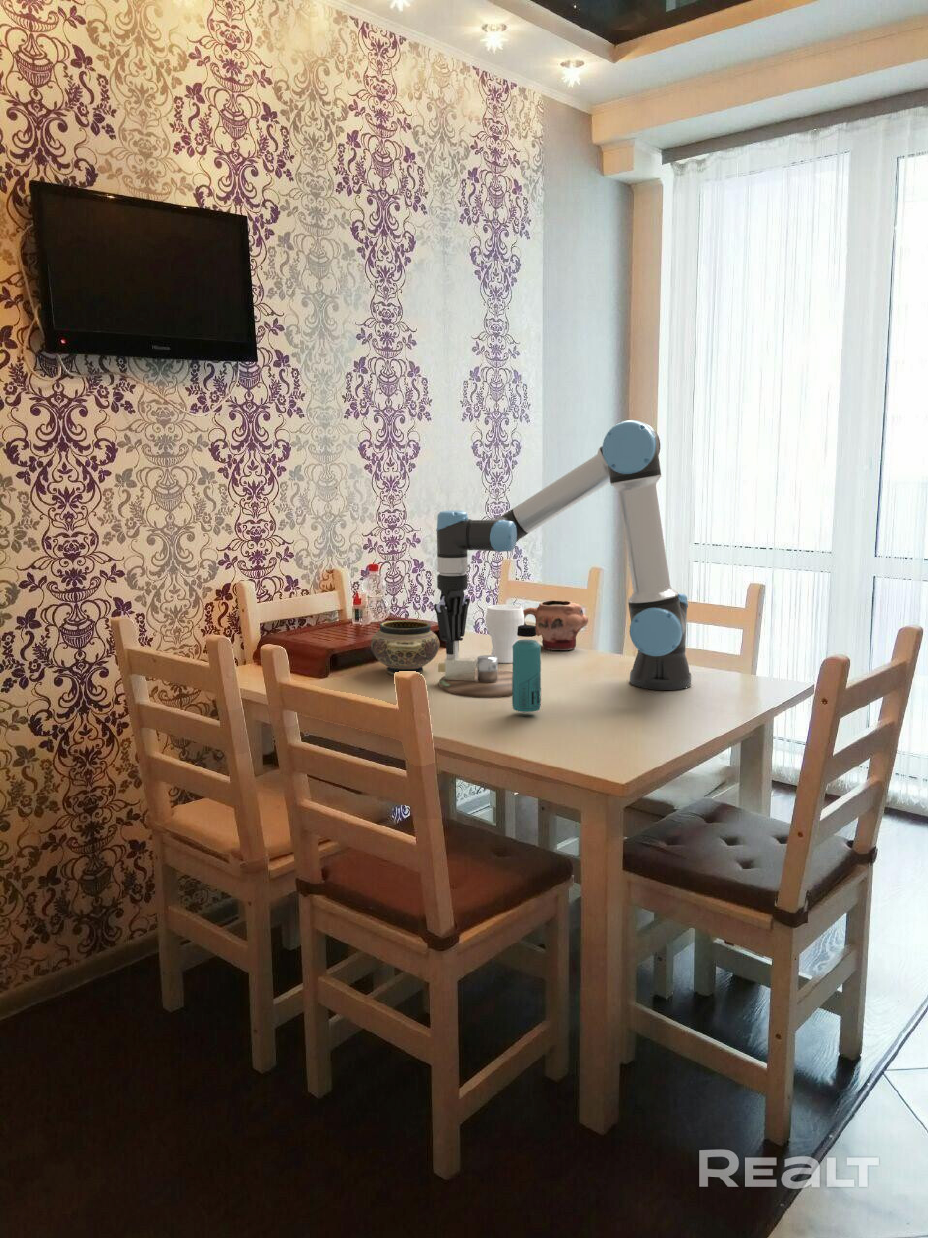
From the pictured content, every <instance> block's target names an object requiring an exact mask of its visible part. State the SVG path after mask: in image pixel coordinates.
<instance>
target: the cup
mask: <svg viewBox="0 0 928 1238" xmlns="http://www.w3.org/2000/svg"><path fill="white" fill-rule="evenodd" d="M486 609H487V610H486V614H485V625H486V629H487V631H488V633H489V636H490V638H491V644H492V648H491V654H490V655H492V656H497V657H498V664H511V663H512V664H513V648H512V646H513V645H514V644H515V643H516V642H517V641H518V640H519V638H520V636H518V635H517V632H518V626H521V625H524V620H525V619H524V613H523V610H524V609H523V607H522V606H521V605H516V604H506V603H505V604H493V605H489V606H487V608H486Z"/></svg>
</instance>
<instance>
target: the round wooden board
mask: <svg viewBox="0 0 928 1238" xmlns="http://www.w3.org/2000/svg"><path fill="white" fill-rule="evenodd" d="M512 673H513V671H512V670H511V671H510V670H501V669H498V679H497V681H496V682H490V683H485V682H479V681H478V680H477V669H476V680H475V681H465V680H445V675H443V676H442V677H441V678H440V679H439V682H438V684H439V688H440V689H441V690H443V691H444V692H448V693H450V694H453V695H459V696H463V697H474V698H502V697H503V698H505V697H512V675H513V674H512Z"/></svg>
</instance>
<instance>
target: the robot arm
mask: <svg viewBox="0 0 928 1238" xmlns="http://www.w3.org/2000/svg"><path fill="white" fill-rule="evenodd" d="M660 452H661V439H660V436H659V435H658V433H657V431H656V430H655V429H654V428H653V427H652V426H651V425H649V424H647V423H646V422H644V421H643V422H642V421H640V420H637V419H629V420H627V419H626V420H623V421H620V422H618V423H617V424H615V425H613V426H612V427H611V428H610V429H609V430H608V431H607V432H606V434H605V437H604V439H603V442H602V445H601V446H600V447H599V448H598V450H597V454H595V455H594V456H592V457H591V458H589V459H588V460H586V461H584V462H583V463H582V464H580V465H578V466H577V467H575V468H574V469H572V470H571V471H569V472H567V473H566V474H564V475H563V476H561V477H559V478H558V479H556V480H555V481H553V482H552V483H551V484H549V485H548V486H546V487H544V488H542V489H541V490H539V491H538V492H537V493H534V494H533V495H532V496H530V497H529V498H527V499H525V500H524V501H523V502H521V503H520V504H518V505H516V506H515V507H513V508H512V509H510V510H508V511H507V512H505V513H504V514H502V515H500V516H499V517H495V518H493V519H470V518H469V516H468V512H466V511H465V510H443V511H440V512H439V513H438V514H437V520H436V531H435V532H436V557H437V563H436V564H437V565H436V567H437V568H436V570H437V571H436V572H437V573H438V574H437V576H436V581H437V582H436V583H437V584H436V588H437V589H438V591H440V596H439V603H435V604H434V605H433V609H434V611H435V613H436V614H435V615H436V621H437V626H438V631H439V633H438V634H439V639H440V641H442V642H445V654H446V658H458V659H460V657H459V653H460V652H459V651H460V648H459V646H460V642H462V641H463V640H464V638H463V637H464V636H465V631H466V625H467V619H468V609H469V606H470V603H471V598H467V597H466V596H465V592H464V591H465V590H466V589H468V575H467V573H468V571H469V569H468V551H482V552H483V551H485V552H497V553H504V552H512V551H513V550H514V549H515V546H516V545H517V543H518V542H519V541H520V540H521V539H522V538H524V537H526V536H527V535H528V534H530V533H531V532H533V531H534V530H535V531H536V530H537V529H538V528H539V527H541V526H542V525H545V524H546V523H547V522H550V520H552V519H554V518H555V517H558V516H559V515H560V514H562V513H564V512H565V511H567V510H568V509H570V508H572V507H574V506H575V505H576V504H579V502H581V501H583V500H584V499H586V498H588V497H589V496H591V495H593V494H594V493H596V492H598V491H599V490H600V489H602V488H604V487H605V486H607V485H609V484H610V485H611V486H612V487H613V488H614V489H616V491H617V492H618V498H619V505H620V511H621V518H622V525H623V532H624V538H625V545H626V546H625V547H626V550H627V551H626V553H627V559H628V566H629V572H630V580H631V586H632V591H633V592H632V594H631V596H630V597H629V598H628V600H627V603H628V611H629V616H630V624H629V636H630V640H631V642H632V644H633V646H634V647H635V648H636V649H637V654H636V656H635V658H634V659H635V660H634V663H633V666H632V669H631V670H630V672H629V683H630V684H631V685H633V686H636V687H639V688H643V689H648V690H654V691H655V690H657V691H658V690H659V691H674V690H676V691H677V689H678V690H683V688H684V689H687V688H689V687H691V686H692V679H693V677H692V673H691V672H690V667H689V663H688V659H687V655H686V648H687V647H686V646H687V645H686V644H687V625H688V624H687V622H688V621H687V620H688V608H689V603H688V596H687V595H686V594H684V593H679V592H677V591H676V590H675V589H674V588H672V586H671V583H670V573H669V568H668V560H667V559H668V558H667V554H666V549H665V547H666V546H665V539H664V533H663V527H662V526H663V525H662V519H661V511H660V505H659V499H658V491H657V483H658V481H659V480H660V479H661V477H662V471H661V469H662V468H661V463H660V457H659V455H660ZM690 685H691V686H690ZM688 686H689V687H688ZM686 687H687V688H686Z"/></svg>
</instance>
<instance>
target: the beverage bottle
mask: <svg viewBox="0 0 928 1238" xmlns="http://www.w3.org/2000/svg"><path fill="white" fill-rule="evenodd" d="M517 635H518V636H519V637H520V638H521V637H522V638H532V637H536V636H537V635H536V627H535V625H531V624H526V625H521V626H518V632H517ZM512 648H513V663H512V672H513V673H512V674H513V675H512V696H511V704H512V705H511V706H512V709H513V710H514V711H517V712H523V713H531V712H532V713H533V712H538V711H539V710H540V709H541V706H542V705H541V704H542V703H541V701H542V687H541V686H542V684H541V683H542V679H541V676H542V675H541V672H542V660H541V650H542V649H541V648H542V646H541V644H540V643H539V642H538V641H537V640H534V639H518V641H517V642H516V643H515V644H514V645H513V646H512Z"/></svg>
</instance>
